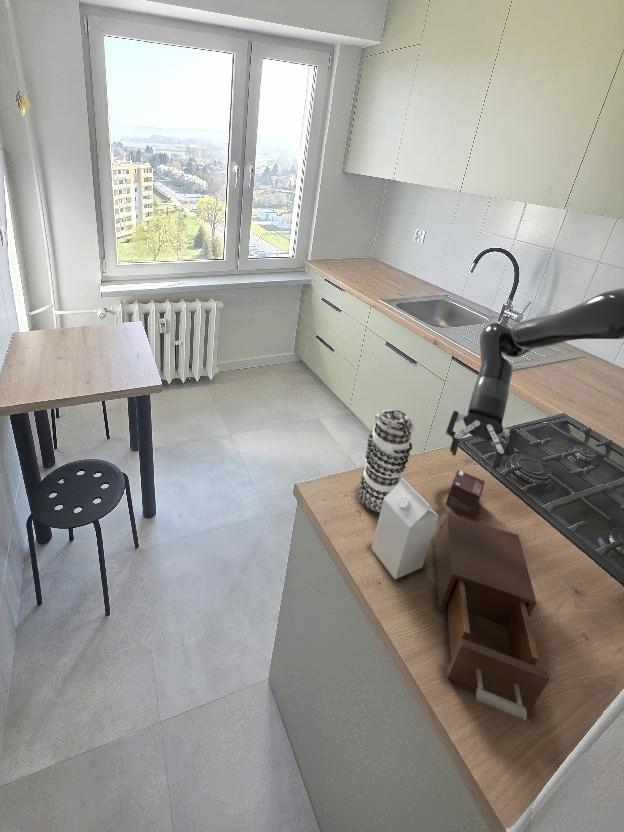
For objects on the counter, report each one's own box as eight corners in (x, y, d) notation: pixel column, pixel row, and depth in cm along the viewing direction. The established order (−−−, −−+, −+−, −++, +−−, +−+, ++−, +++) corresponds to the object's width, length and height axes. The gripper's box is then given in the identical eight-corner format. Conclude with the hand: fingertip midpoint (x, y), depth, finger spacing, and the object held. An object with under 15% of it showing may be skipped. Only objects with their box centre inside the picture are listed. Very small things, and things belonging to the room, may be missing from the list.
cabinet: (516, 641, 72) (536, 602, 68) (438, 612, 76) (452, 573, 72) (502, 571, 84) (518, 535, 80) (434, 549, 88) (447, 513, 84)
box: (472, 520, 95) (480, 497, 92) (444, 507, 98) (451, 483, 95) (476, 504, 100) (485, 480, 97) (450, 491, 103) (457, 468, 100)
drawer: (536, 747, 59) (558, 714, 55) (449, 709, 62) (464, 676, 59) (512, 629, 73) (528, 597, 70) (442, 603, 77) (454, 571, 73)
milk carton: (397, 540, 90) (415, 473, 82) (421, 569, 84) (444, 500, 76) (370, 551, 87) (387, 482, 79) (394, 582, 81) (414, 511, 73)
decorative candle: (395, 492, 102) (417, 408, 92) (396, 523, 94) (420, 434, 83) (357, 482, 104) (374, 399, 94) (354, 511, 96) (373, 424, 86)
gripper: (459, 385, 104) (442, 448, 99) (526, 404, 97) (511, 472, 93) (456, 393, 110) (440, 452, 106) (518, 412, 103) (504, 476, 99)
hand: (473, 462), depth 99 cm, fingers open, 8 cm apart
